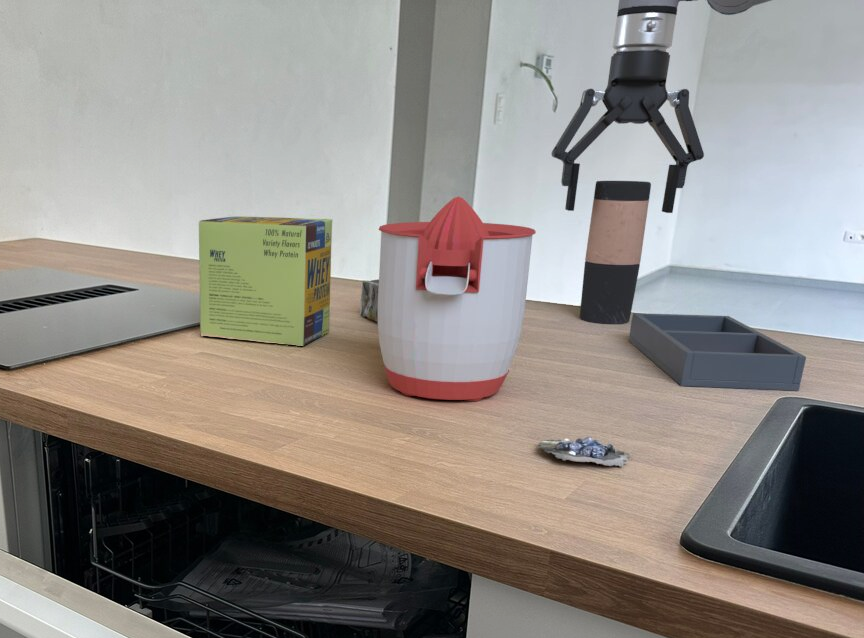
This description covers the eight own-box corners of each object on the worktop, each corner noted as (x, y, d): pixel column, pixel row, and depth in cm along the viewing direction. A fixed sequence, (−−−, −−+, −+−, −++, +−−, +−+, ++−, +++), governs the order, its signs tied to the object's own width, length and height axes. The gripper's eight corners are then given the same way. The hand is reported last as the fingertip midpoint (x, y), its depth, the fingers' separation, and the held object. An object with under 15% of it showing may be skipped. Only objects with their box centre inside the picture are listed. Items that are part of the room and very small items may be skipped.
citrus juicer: (357, 407, 86) (366, 200, 79) (381, 366, 102) (390, 191, 95) (519, 420, 82) (542, 204, 76) (518, 376, 98) (537, 193, 91)
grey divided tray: (723, 344, 114) (728, 315, 113) (799, 391, 93) (806, 356, 91) (628, 340, 116) (632, 313, 115) (680, 386, 94) (686, 352, 93)
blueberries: (521, 448, 75) (523, 427, 74) (598, 439, 77) (600, 419, 76) (569, 474, 69) (572, 452, 68) (651, 464, 71) (655, 443, 70)
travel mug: (567, 316, 133) (584, 180, 126) (609, 313, 135) (628, 180, 128) (598, 325, 126) (618, 183, 119) (642, 322, 128) (664, 182, 121)
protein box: (304, 348, 111) (307, 224, 106) (198, 337, 117) (196, 220, 112) (331, 332, 120) (334, 218, 115) (231, 323, 126) (230, 214, 121)
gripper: (551, 48, 116) (533, 211, 123) (748, 48, 113) (717, 215, 120) (543, 54, 123) (526, 207, 130) (728, 53, 120) (700, 211, 127)
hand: (617, 211), depth 125 cm, fingers open, 13 cm apart
